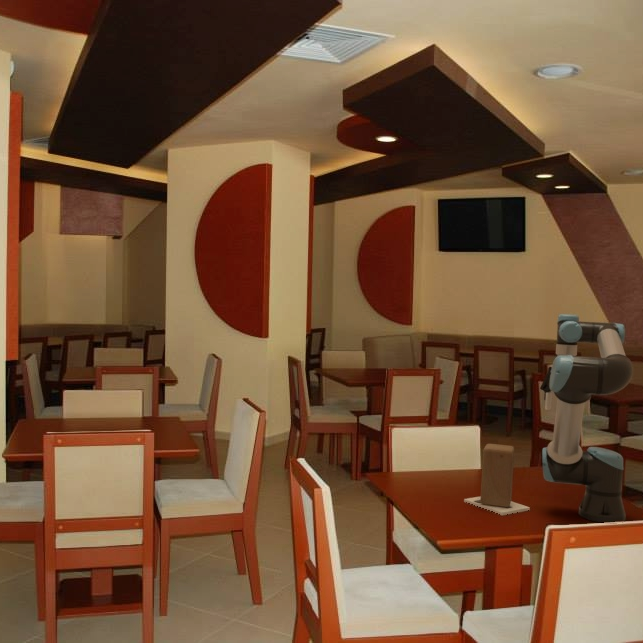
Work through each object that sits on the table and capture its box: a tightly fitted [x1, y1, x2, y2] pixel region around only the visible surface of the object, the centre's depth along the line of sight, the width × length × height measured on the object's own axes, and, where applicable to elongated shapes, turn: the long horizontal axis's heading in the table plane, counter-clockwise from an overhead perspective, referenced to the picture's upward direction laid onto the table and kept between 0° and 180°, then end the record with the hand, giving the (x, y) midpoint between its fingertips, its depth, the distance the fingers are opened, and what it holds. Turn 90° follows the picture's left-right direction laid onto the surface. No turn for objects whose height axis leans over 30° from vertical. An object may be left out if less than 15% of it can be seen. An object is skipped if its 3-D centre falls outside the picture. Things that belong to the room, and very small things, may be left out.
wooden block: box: [480, 443, 515, 507], centre depth 274 cm, size 10×10×20 cm
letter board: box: [463, 495, 531, 516], centre depth 275 cm, size 18×14×1 cm
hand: (562, 412), depth 291 cm, fingers open, 13 cm apart
